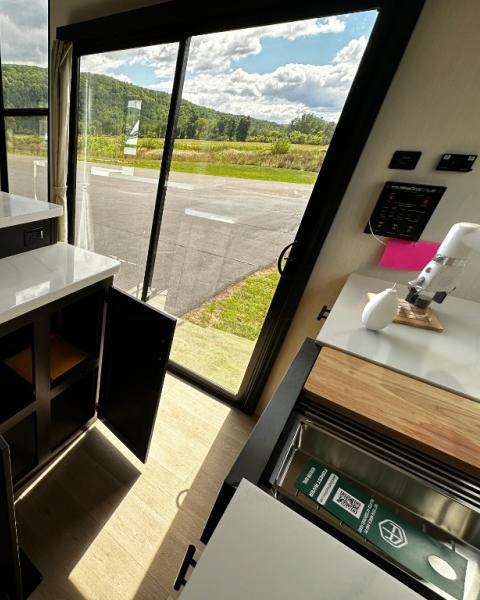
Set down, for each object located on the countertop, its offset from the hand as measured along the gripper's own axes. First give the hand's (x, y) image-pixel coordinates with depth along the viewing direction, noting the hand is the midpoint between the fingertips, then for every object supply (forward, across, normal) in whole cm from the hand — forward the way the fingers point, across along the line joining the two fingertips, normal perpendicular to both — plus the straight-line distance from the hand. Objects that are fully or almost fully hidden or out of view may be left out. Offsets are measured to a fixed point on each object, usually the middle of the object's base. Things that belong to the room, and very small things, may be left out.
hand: (422, 302), depth 117 cm
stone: (+1, 0, 0) cm, 2 cm away
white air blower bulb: (+3, -26, -12) cm, 29 cm away
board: (+3, -8, -2) cm, 9 cm away
